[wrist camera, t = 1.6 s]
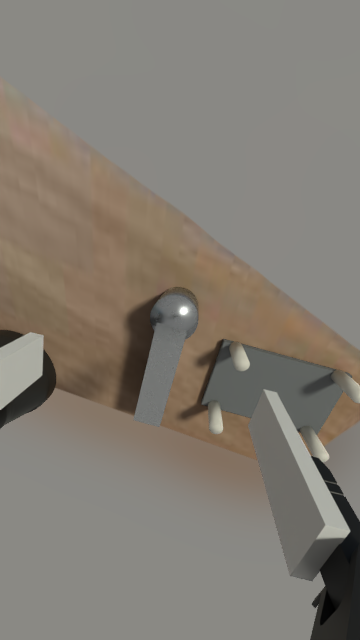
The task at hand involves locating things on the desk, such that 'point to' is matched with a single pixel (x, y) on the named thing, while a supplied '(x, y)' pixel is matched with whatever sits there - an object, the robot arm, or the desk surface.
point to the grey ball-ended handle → (165, 350)
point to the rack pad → (275, 389)
